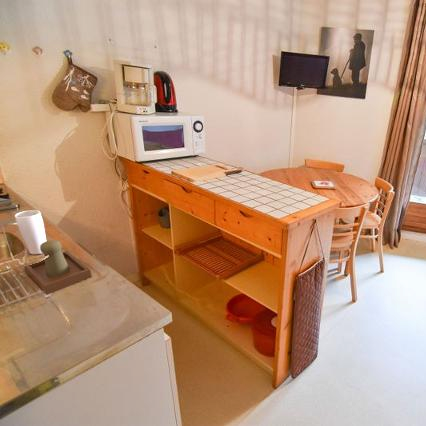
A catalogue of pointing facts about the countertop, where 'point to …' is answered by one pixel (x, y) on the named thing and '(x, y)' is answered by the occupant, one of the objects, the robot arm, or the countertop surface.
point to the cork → (54, 259)
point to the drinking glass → (31, 230)
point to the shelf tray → (55, 283)
